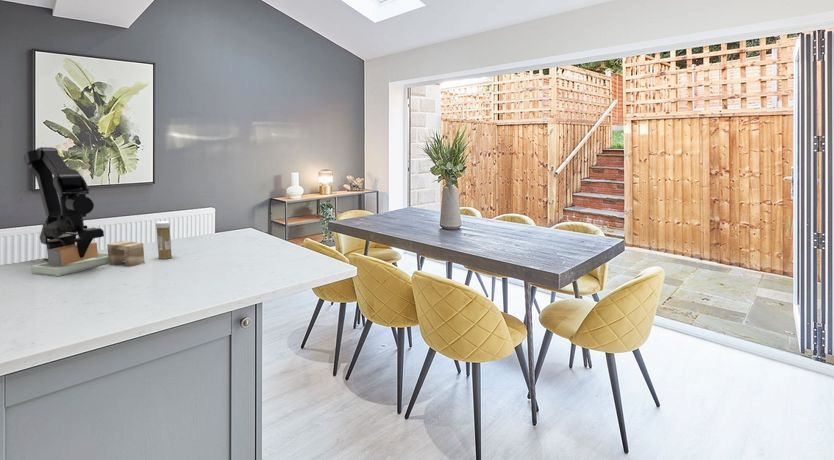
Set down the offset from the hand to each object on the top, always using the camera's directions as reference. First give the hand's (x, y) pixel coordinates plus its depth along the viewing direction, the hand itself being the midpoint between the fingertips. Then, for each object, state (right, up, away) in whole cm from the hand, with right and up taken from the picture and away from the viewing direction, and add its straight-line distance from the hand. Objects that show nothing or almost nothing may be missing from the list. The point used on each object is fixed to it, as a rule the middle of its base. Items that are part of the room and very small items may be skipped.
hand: (76, 257), depth 155 cm
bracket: (+13, -3, +7) cm, 15 cm away
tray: (0, -3, +1) cm, 3 cm away
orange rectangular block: (0, -1, -1) cm, 1 cm away
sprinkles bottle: (+21, -1, +16) cm, 26 cm away
